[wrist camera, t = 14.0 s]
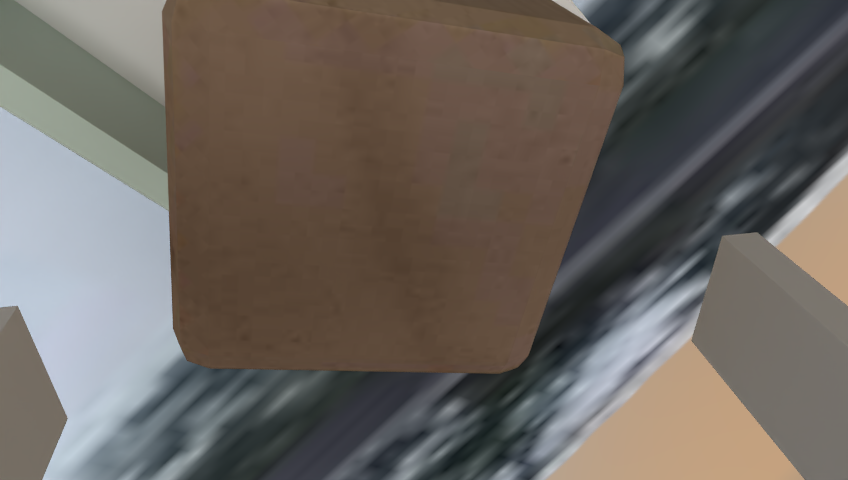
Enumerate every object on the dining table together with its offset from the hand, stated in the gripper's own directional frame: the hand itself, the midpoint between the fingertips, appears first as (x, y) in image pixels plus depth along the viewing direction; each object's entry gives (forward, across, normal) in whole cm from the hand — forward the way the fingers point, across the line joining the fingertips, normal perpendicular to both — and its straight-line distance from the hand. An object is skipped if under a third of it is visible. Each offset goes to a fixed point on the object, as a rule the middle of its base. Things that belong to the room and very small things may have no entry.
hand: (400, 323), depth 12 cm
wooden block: (+23, 0, -1) cm, 23 cm away
